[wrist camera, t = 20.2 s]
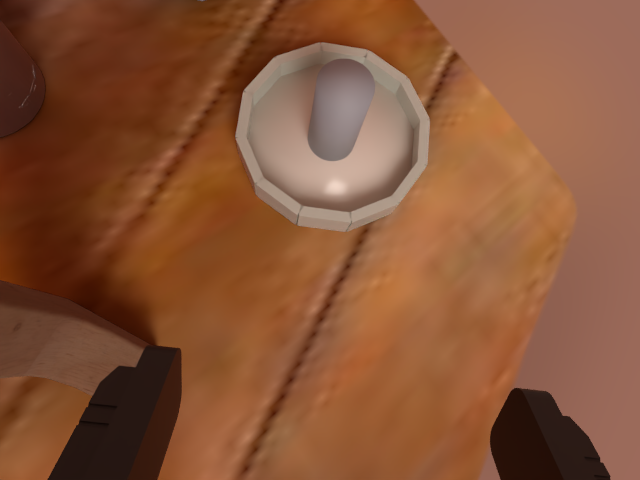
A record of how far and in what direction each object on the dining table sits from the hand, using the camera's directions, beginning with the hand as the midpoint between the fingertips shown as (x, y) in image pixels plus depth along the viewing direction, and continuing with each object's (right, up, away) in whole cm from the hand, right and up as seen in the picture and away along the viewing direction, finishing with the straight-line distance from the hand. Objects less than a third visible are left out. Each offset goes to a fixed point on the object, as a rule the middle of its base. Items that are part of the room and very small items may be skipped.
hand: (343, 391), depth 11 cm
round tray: (0, +13, +33) cm, 35 cm away
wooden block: (-19, -5, +27) cm, 33 cm away
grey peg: (0, +13, +32) cm, 34 cm away
